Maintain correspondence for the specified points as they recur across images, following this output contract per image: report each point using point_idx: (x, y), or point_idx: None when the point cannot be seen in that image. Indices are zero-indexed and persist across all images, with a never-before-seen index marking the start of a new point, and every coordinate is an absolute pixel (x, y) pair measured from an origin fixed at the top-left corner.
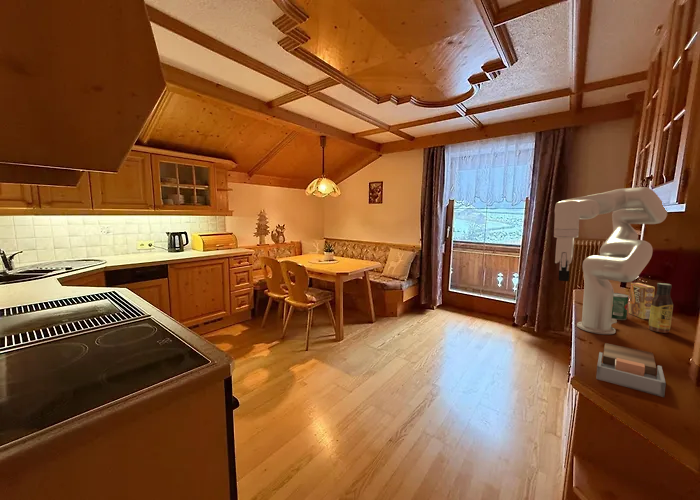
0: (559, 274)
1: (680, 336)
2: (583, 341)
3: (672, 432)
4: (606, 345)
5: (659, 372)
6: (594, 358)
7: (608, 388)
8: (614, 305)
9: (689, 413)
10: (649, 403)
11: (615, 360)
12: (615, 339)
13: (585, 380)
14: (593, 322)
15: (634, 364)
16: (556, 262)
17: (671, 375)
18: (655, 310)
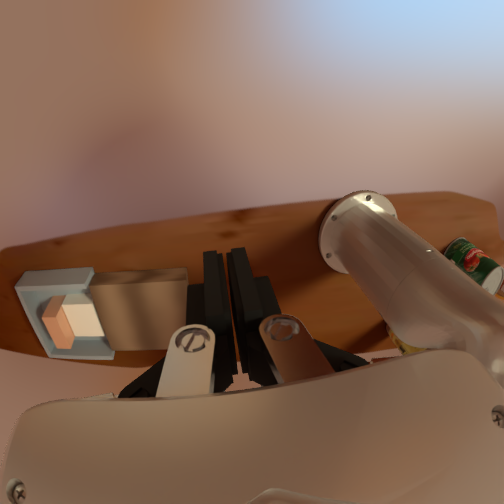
0: (204, 289)
1: (378, 343)
2: (226, 219)
3: None
4: (167, 284)
5: (80, 356)
6: (116, 256)
7: (13, 287)
8: (465, 272)
9: (42, 354)
10: (23, 326)
11: (85, 304)
12: (298, 275)
13: (6, 258)
14: (342, 243)
15: (53, 338)
16: (26, 416)
17: (148, 351)
18: (414, 347)
